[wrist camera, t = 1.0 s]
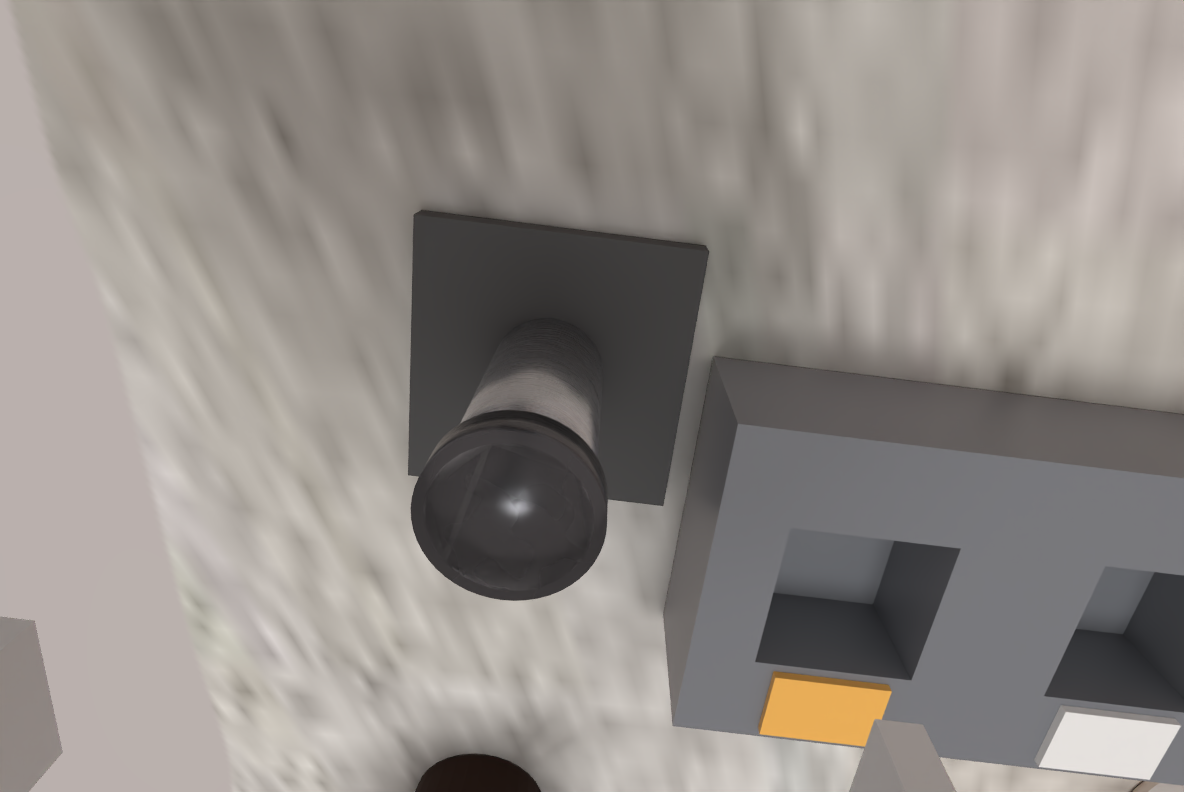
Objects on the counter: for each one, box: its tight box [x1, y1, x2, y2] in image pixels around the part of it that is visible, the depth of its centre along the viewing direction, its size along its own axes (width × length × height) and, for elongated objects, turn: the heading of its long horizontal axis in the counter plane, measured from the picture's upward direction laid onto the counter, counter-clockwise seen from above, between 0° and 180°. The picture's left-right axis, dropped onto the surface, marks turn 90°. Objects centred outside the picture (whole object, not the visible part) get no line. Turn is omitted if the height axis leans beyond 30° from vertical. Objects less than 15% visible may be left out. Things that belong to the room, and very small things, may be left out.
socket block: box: [663, 357, 1184, 786], centre depth 26 cm, size 12×20×6 cm, turn 83°
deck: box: [408, 210, 709, 506], centre depth 26 cm, size 10×10×1 cm
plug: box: [411, 318, 608, 601], centre depth 21 cm, size 5×5×10 cm
